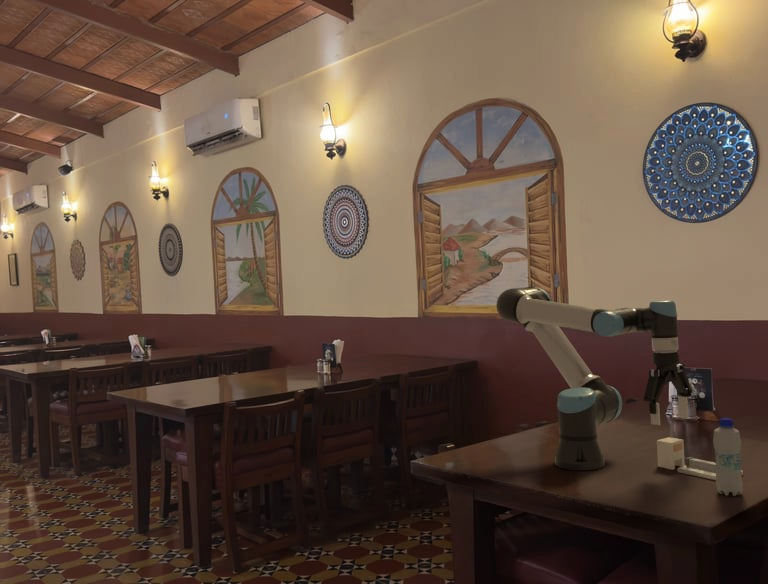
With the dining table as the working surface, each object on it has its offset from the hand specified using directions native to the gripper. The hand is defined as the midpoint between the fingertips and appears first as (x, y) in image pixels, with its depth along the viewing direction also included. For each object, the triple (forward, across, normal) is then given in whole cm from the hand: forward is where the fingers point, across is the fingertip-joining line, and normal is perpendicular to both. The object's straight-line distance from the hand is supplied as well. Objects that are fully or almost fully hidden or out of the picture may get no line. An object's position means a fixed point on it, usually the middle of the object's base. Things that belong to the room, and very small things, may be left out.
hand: (670, 421), depth 211 cm
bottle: (+14, -12, -26) cm, 32 cm away
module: (+14, 0, 0) cm, 14 cm away
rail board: (+14, +1, -12) cm, 18 cm away
